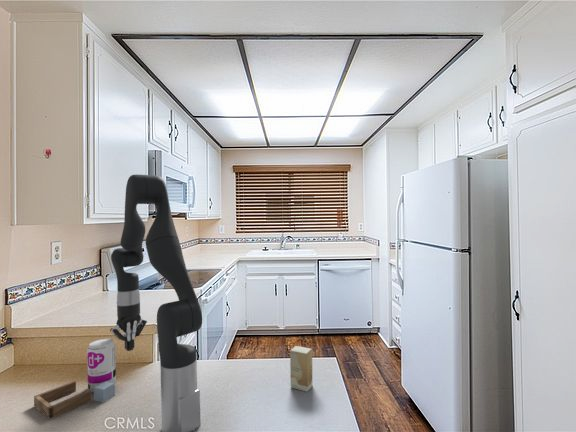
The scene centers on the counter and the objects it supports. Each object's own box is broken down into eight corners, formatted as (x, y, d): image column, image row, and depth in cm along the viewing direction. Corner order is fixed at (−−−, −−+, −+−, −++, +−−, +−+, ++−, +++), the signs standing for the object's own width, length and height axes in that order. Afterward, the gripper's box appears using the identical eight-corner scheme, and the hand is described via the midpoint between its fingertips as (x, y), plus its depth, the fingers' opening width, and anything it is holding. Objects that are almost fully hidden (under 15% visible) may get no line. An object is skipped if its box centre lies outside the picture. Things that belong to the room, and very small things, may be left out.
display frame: (91, 400, 99) (91, 390, 99) (49, 419, 90) (49, 408, 90) (74, 389, 106) (74, 380, 106) (34, 406, 97) (34, 396, 97)
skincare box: (290, 388, 103) (288, 350, 103) (296, 381, 106) (294, 345, 107) (308, 392, 100) (306, 353, 100) (313, 385, 103) (312, 348, 104)
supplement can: (103, 394, 103) (102, 347, 103) (81, 392, 104) (80, 346, 105) (121, 381, 111) (120, 338, 111) (101, 380, 112) (100, 337, 113)
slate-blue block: (114, 395, 102) (114, 383, 102) (103, 402, 98) (103, 389, 98) (105, 393, 103) (105, 381, 103) (94, 400, 99) (93, 387, 99)
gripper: (115, 308, 108) (116, 359, 108) (151, 299, 119) (152, 346, 119) (104, 305, 113) (105, 354, 112) (140, 297, 123) (141, 342, 123)
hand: (129, 350), depth 116 cm, fingers closed
